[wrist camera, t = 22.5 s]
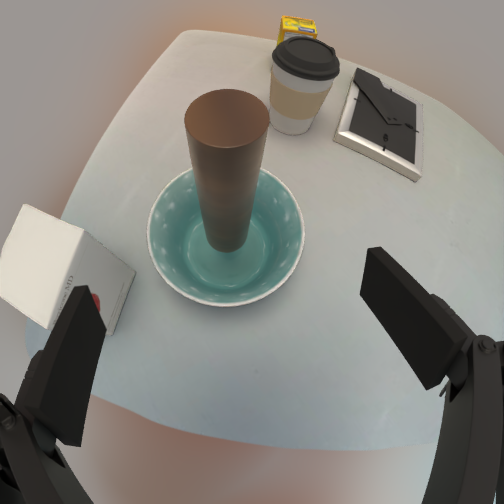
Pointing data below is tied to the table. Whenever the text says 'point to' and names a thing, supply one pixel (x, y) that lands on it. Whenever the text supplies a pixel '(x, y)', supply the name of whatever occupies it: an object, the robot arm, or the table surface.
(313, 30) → the supplement box
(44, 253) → the white product box
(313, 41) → the coffee cup
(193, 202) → the bowl
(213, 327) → the table surface
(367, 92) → the picture frame
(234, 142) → the tall brown cylinder
